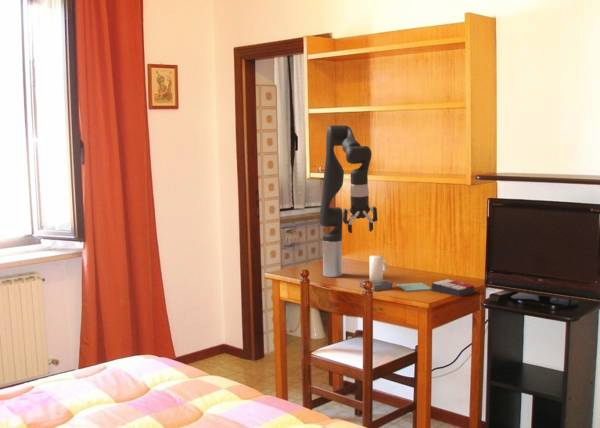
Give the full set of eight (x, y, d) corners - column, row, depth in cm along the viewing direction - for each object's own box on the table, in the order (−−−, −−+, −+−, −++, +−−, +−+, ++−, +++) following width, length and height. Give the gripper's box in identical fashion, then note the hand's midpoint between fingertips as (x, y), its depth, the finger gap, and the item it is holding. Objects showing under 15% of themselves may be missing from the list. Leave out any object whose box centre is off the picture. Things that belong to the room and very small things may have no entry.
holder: (374, 291, 301) (374, 285, 301) (359, 286, 310) (359, 281, 309) (392, 288, 307) (392, 282, 306) (377, 283, 315) (377, 278, 315)
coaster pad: (396, 285, 311) (396, 284, 311) (421, 284, 314) (421, 282, 314) (406, 291, 300) (406, 290, 300) (431, 289, 302) (431, 288, 302)
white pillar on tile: (375, 289, 304) (375, 258, 302) (366, 287, 309) (366, 256, 307) (389, 287, 308) (389, 256, 307) (380, 284, 313) (381, 254, 312)
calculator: (460, 288, 289) (431, 281, 300) (459, 298, 290) (431, 291, 301) (475, 284, 296) (447, 277, 308) (474, 294, 297) (446, 287, 308)
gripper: (373, 191, 290) (374, 228, 294) (340, 193, 288) (342, 231, 292) (378, 194, 283) (379, 232, 287) (344, 197, 281) (345, 235, 285)
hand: (360, 232), depth 289 cm, fingers open, 8 cm apart
